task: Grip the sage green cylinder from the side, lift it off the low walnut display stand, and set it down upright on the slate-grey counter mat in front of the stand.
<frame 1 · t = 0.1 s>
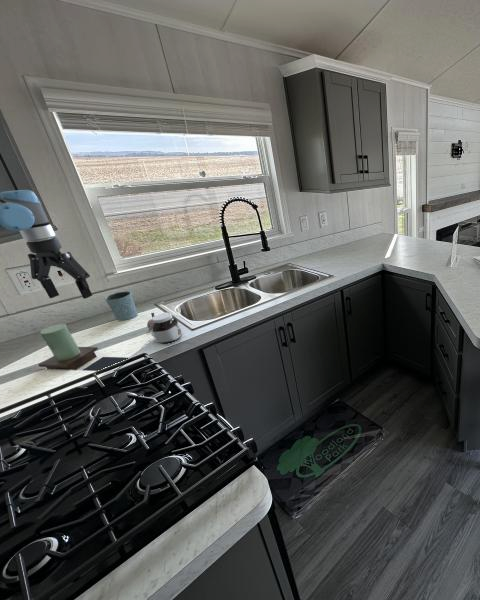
hand: (71, 297, 118), 28 cm above the countertop, tool pointing down, fingers open, 13 cm apart
spread jar: (167, 339, 142), on the countertop
blue plant pot: (128, 317, 163), on the countertop
stand: (73, 363, 128), on the countertop
garlic bulb: (158, 328, 152), on the countertop
sage green cylinder: (68, 355, 126), point 4 cm above the countertop, touching stand
mat: (103, 368, 124), on the countertop
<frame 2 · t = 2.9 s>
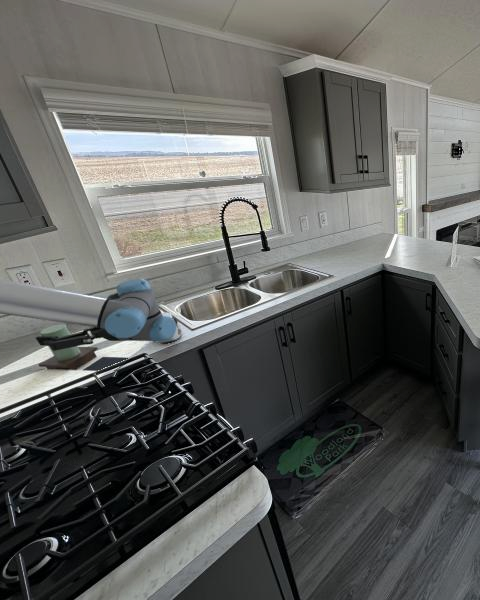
hand: (62, 329, 104), 24 cm above the countertop, tool horizontal, fingers open, 13 cm apart
nothing on the countertop moved.
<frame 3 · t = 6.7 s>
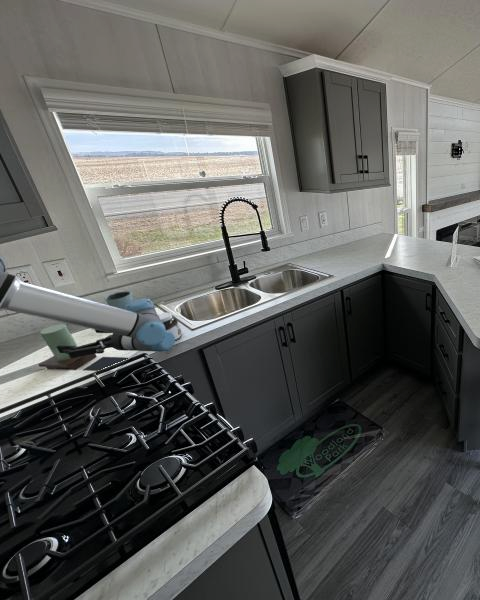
hand: (78, 338, 121), 12 cm above the countertop, tool horizontal, fingers open, 13 cm apart
nothing on the countertop moved.
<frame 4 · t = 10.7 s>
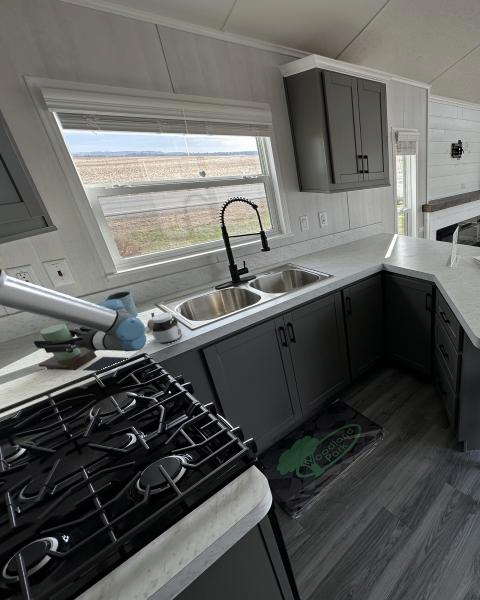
hand: (47, 338, 123), 12 cm above the countertop, tool horizontal, fingers closed on sage green cylinder, 7 cm apart
sage green cylinder: (68, 355, 126), point 4 cm above the countertop, touching gripper, stand
everything else where it was.
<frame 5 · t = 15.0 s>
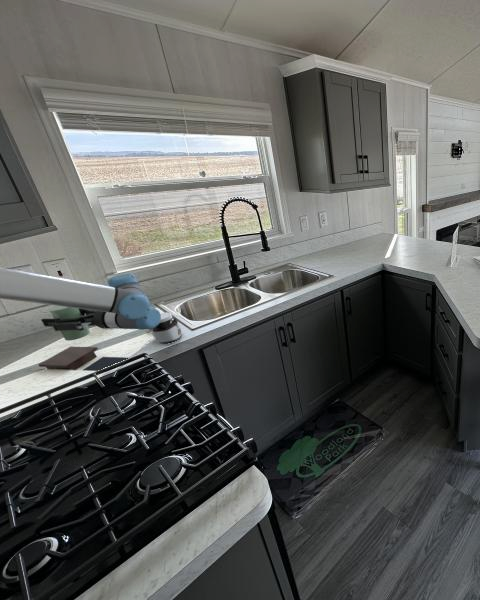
hand: (55, 317, 116), 22 cm above the countertop, tool horizontal, fingers closed on sage green cylinder, 7 cm apart
sage green cylinder: (77, 335, 119), point 14 cm above the countertop, touching gripper
everything else where it was.
when the fingers open (8 cm above the countertop, at t = 19.5 s): sage green cylinder stays where it is, resting on mat.
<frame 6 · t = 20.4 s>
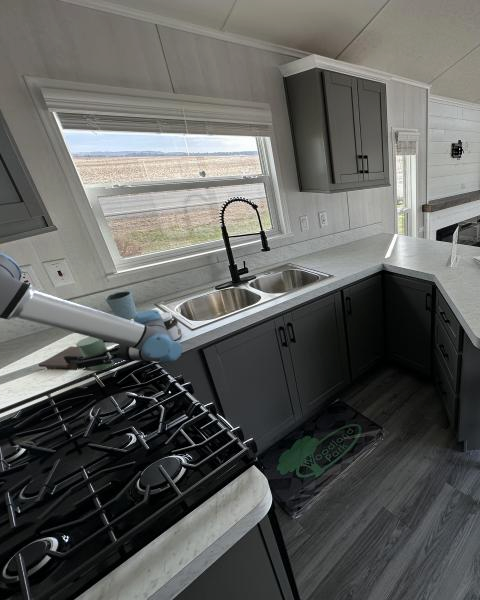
hand: (84, 348, 121), 9 cm above the countertop, tool horizontal, fingers open, 13 cm apart
sage green cylinder: (102, 367, 124), resting on mat
everything else where it was.
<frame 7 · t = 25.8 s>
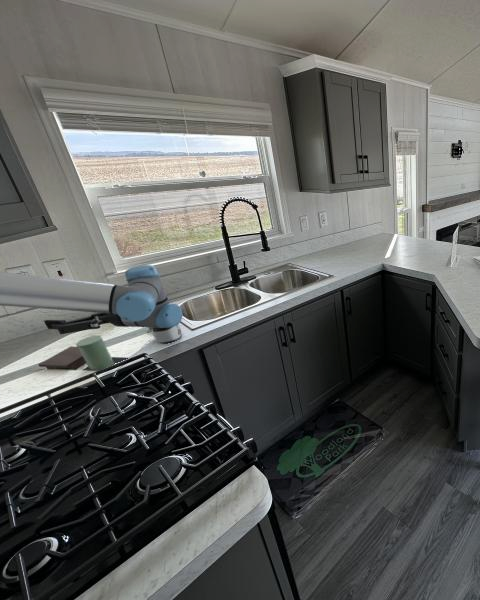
hand: (69, 313, 104), 28 cm above the countertop, tool horizontal, fingers open, 13 cm apart
nothing on the countertop moved.
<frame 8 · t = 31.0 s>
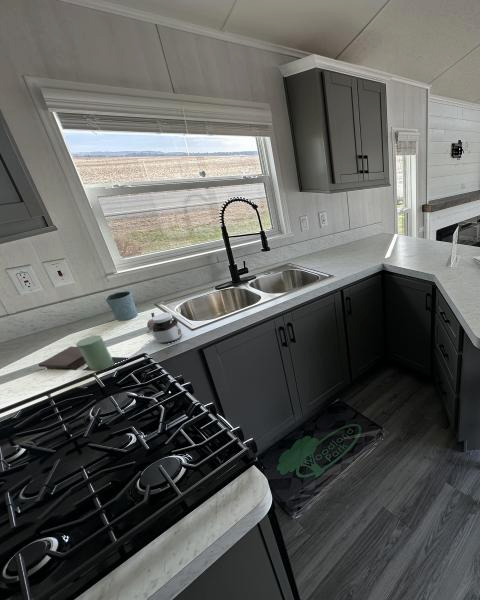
nothing on the countertop moved.
at the end: sage green cylinder inside the target area (0.1 cm from its centre), point 0.5 cm above the countertop; sage green cylinder tilted 0°; the gripper is holding nothing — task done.
